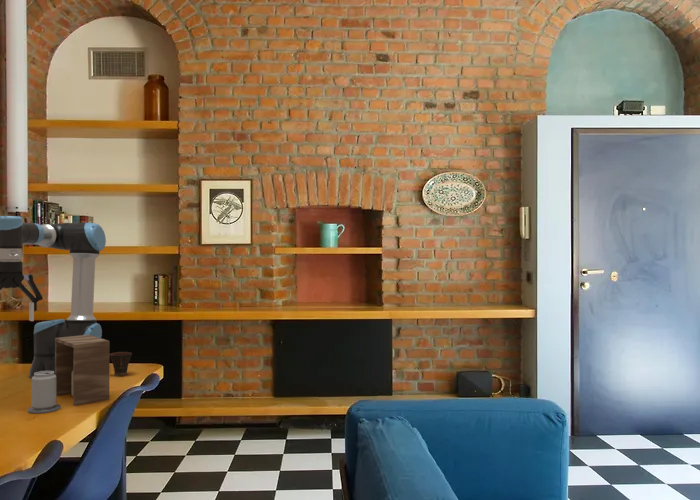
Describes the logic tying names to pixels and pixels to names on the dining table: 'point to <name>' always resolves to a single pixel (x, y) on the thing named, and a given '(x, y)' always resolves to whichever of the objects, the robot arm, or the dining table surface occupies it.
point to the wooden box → (82, 368)
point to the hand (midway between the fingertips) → (10, 322)
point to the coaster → (55, 408)
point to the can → (43, 390)
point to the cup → (120, 362)
